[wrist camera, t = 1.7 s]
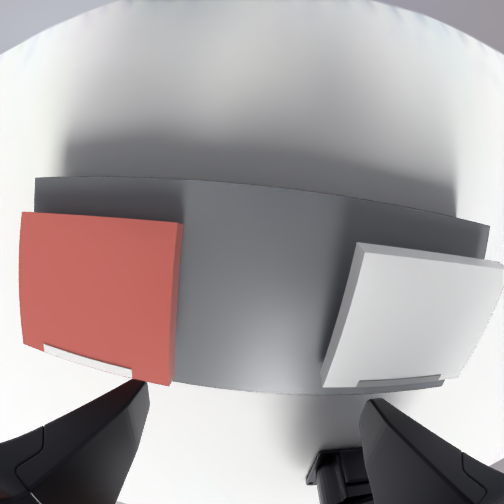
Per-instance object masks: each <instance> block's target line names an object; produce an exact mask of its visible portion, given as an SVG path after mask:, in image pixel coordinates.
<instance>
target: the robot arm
mask: <svg viewBox="0 0 504 504" xmlns="http://www.w3.org/2000/svg"><path fill="white" fill-rule="evenodd" d="M149 406H150V401H149V393H148V385H147V383H146V382H145V381H142V380H138V379H131V380H129V381H128V382H126V383H124V384H122V385H120V386H119V387H117V388H115V389H113V390H111V391H109V392H108V393H106V394H104V395H102V396H100V397H98V398H96V399H95V400H93V401H91V402H89V403H87V404H85V405H83V406H81V407H79V408H77V409H76V410H74V411H72V412H70V413H68V414H66V415H64V416H62V417H60V418H58V419H56V420H54V421H52V422H50V423H48V424H46V425H44V427H43V426H41V427H39V428H37V429H35V430H33V431H31V432H29V433H26V434H24V435H22V436H19V437H17V438H14V439H11V440H8V441H5V442H2V443H0V504H115V503H116V501H117V498H118V496H119V493H120V491H121V488H122V486H123V484H124V481H125V479H126V476H127V474H128V471H129V469H130V467H131V464H132V462H133V459H134V457H135V455H136V452H137V449H138V446H139V443H140V439H141V436H142V432H143V428H144V425H145V421H146V418H147V414H148V411H149ZM359 426H360V433H361V440H362V448H352V449H340V450H324V451H320V452H319V453H318V455H317V458H316V460H315V462H314V464H313V467H312V469H311V471H310V473H309V475H308V477H307V480H306V484H307V485H317V488H318V494H319V501H320V504H504V473H501V472H499V471H497V470H495V469H493V468H491V467H489V466H487V465H485V464H483V463H481V462H479V461H478V460H476V459H474V458H472V457H471V456H469V455H467V454H466V453H464V452H461V450H459V449H458V448H456V447H455V446H453V445H451V444H450V443H448V442H447V441H445V440H444V439H442V438H440V437H439V436H437V435H436V434H434V433H433V432H431V431H430V430H428V429H427V428H425V427H424V426H422V425H421V424H419V423H418V422H416V421H415V420H413V419H412V418H410V417H409V416H407V415H406V414H404V413H403V412H401V411H400V410H398V409H397V408H395V407H394V406H393V405H391V404H390V403H388V402H387V401H385V400H384V399H382V398H371V399H369V400H368V401H367V402H366V405H365V407H364V409H363V412H362V414H361V416H360V420H359Z"/></svg>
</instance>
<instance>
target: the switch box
mask: <svg viewBox="0 0 504 504" xmlns="http://www.w3.org/2000/svg"><path fill="white" fill-rule="evenodd" d="M34 212H36V213H54V214H70V215H85V216H100V217H114V218H127V219H140V220H152V221H164V222H176V223H181V224H184V226H183V236H182V247H181V258H180V270H179V284H178V299H177V318H176V343H175V377H174V378H173V380H172V381H174V382H180V383H186V384H192V385H199V386H206V387H213V388H221V389H229V390H239V391H249V392H262V393H277V394H300V395H349V394H372V393H386V392H398V391H408V390H417V389H425V388H432V387H439V386H442V385H443V382H444V380H445V379H444V380H438V381H431V382H423V383H414V384H404V385H392V386H376V387H323V386H322V381H321V376H320V371H321V368H322V365H323V362H324V359H325V356H326V353H327V350H328V347H329V344H330V341H331V337H332V334H333V331H334V327H335V324H336V321H337V317H338V314H339V310H340V307H341V303H342V300H343V296H344V292H345V288H346V285H347V281H348V277H349V273H350V269H351V265H352V261H353V256H354V252H355V248H356V243H357V242H360V243H368V244H376V245H384V246H392V247H399V248H407V249H414V250H422V251H429V252H436V253H443V254H450V255H457V256H464V257H471V258H477V259H484V258H485V253H486V247H487V242H488V236H489V229H490V226H488V225H484V224H480V223H476V222H472V221H468V220H464V219H460V218H455V217H451V216H447V215H442V214H438V213H433V212H428V211H424V210H419V209H414V208H409V207H404V206H398V205H393V204H388V203H382V202H376V201H371V200H365V199H359V198H352V197H346V196H339V195H333V194H326V193H319V192H311V191H304V190H296V189H287V188H279V187H270V186H260V185H250V184H240V183H228V182H216V181H202V180H187V179H169V178H145V177H43V178H35V198H34Z"/></svg>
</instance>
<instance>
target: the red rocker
mask: <svg viewBox="0 0 504 504" xmlns="http://www.w3.org/2000/svg"><path fill="white" fill-rule="evenodd" d="M183 226H184V224H181V223H176V222H164V221H152V220H140V219H127V218H114V217H100V216H85V215H70V214H54V213H36V212H22V217H21V229H20V244H19V299H20V315H21V326H22V335H23V343H24V344H26V345H28V346H31V347H33V348H36V349H38V350H41V351H44V352H46V353H49V354H52V355H55V356H57V357H60V358H63V359H66V360H69V361H72V362H75V363H78V364H81V365H85V366H88V367H91V368H95V369H98V370H102V371H105V372H109V373H113V374H117V375H120V376H124V377H128V378H133V379H138V380H142V381H146V382H150V383H155V384H160V385H165V386H169V385H170V384H171V382H172V380H173V378H174V377H175V343H176V318H177V299H178V284H179V270H180V258H181V247H182V236H183Z"/></svg>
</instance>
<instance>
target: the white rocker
mask: <svg viewBox="0 0 504 504" xmlns="http://www.w3.org/2000/svg"><path fill="white" fill-rule="evenodd" d="M503 288H504V265H502V264H501V263H500V262H497V261H490V260H484V259H477V258H471V257H464V256H457V255H450V254H443V253H436V252H429V251H422V250H414V249H407V248H399V247H392V246H384V245H376V244H368V243H360V242H357V243H356V248H355V252H354V256H353V261H352V265H351V269H350V273H349V277H348V281H347V285H346V288H345V292H344V296H343V300H342V303H341V307H340V310H339V314H338V317H337V321H336V324H335V327H334V331H333V334H332V337H331V341H330V344H329V347H328V350H327V353H326V356H325V359H324V362H323V365H322V368H321V371H320V376H321V381H322V386H323V387H376V386H392V385H404V384H414V383H423V382H431V381H438V380H444V379H451V378H457V377H459V375H460V373H461V372H462V370H463V368H464V367H465V365H466V363H467V362H468V360H469V358H470V357H471V355H472V353H473V351H474V349H475V348H476V346H477V344H478V342H479V340H480V338H481V336H482V334H483V332H484V330H485V328H486V326H487V324H488V322H489V320H490V318H491V316H492V314H493V312H494V309H495V307H496V305H497V303H498V300H499V298H500V295H501V293H502V290H503Z"/></svg>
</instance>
